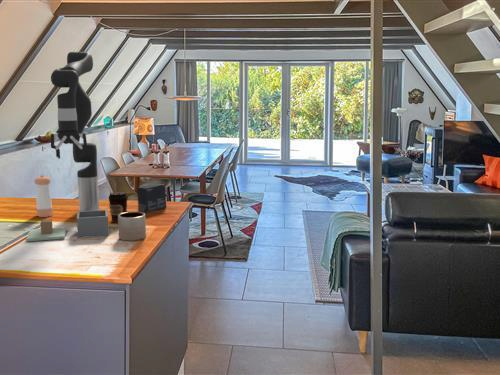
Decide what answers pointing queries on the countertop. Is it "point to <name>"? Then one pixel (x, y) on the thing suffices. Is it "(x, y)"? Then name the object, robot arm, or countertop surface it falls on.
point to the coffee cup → (117, 204)
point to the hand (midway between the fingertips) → (69, 158)
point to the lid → (46, 232)
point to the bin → (92, 223)
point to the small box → (151, 197)
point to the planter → (131, 226)
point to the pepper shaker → (43, 197)
